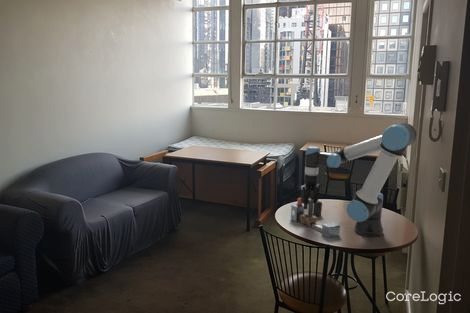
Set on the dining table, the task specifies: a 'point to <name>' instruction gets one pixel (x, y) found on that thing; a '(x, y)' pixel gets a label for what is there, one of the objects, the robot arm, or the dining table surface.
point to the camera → (317, 209)
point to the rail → (326, 229)
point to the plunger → (299, 202)
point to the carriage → (308, 218)
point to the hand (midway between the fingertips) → (308, 213)
